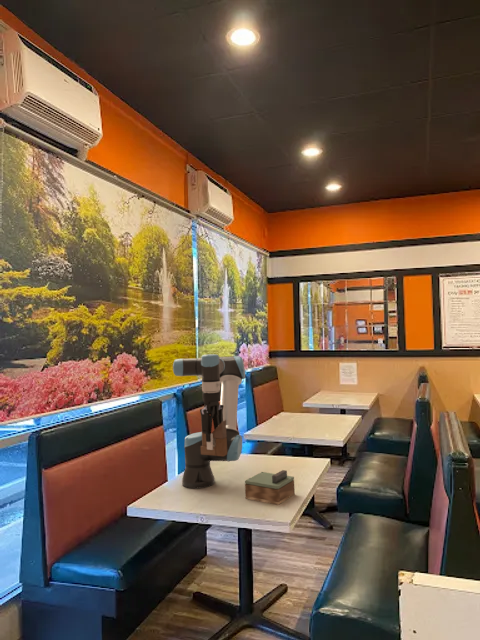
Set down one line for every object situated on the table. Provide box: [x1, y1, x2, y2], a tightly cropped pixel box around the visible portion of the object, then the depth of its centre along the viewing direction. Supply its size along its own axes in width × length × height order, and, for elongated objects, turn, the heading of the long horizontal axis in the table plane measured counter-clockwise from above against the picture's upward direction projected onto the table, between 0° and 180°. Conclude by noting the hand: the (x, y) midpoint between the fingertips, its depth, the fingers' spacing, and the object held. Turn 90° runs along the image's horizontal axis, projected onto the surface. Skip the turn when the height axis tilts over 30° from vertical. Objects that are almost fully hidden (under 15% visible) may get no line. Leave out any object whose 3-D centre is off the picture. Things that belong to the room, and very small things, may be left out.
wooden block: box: [200, 420, 227, 456], centre depth 205 cm, size 4×11×18 cm, turn 65°
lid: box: [244, 469, 295, 489], centre depth 210 cm, size 16×14×4 cm
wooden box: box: [244, 479, 295, 506], centre depth 210 cm, size 16×14×6 cm
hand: (213, 448), depth 205 cm, fingers closed on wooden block, 4 cm apart
